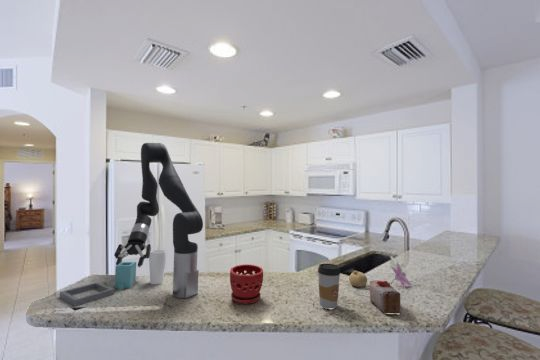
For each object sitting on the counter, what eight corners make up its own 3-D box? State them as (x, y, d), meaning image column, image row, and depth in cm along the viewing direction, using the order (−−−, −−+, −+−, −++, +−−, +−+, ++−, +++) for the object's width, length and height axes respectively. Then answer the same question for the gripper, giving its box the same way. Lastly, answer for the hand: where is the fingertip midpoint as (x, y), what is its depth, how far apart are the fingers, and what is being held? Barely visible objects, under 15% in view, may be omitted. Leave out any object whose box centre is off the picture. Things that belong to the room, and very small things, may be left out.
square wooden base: (138, 285, 116) (139, 266, 116) (131, 292, 108) (132, 272, 108) (119, 285, 115) (119, 267, 115) (110, 293, 107) (111, 273, 107)
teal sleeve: (135, 282, 115) (136, 261, 115) (128, 289, 108) (129, 266, 108) (120, 283, 114) (121, 262, 114) (113, 289, 107) (114, 267, 107)
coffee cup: (326, 313, 94) (327, 270, 95) (312, 303, 101) (313, 264, 102) (344, 308, 98) (345, 267, 98) (329, 300, 105) (330, 262, 106)
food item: (366, 299, 107) (366, 275, 107) (385, 299, 107) (385, 275, 108) (383, 316, 93) (383, 287, 93) (404, 316, 94) (405, 287, 94)
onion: (352, 281, 128) (352, 266, 128) (369, 285, 123) (369, 270, 123) (346, 286, 121) (346, 270, 121) (364, 290, 117) (364, 274, 117)
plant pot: (222, 299, 104) (223, 268, 104) (247, 290, 113) (248, 262, 114) (244, 310, 95) (245, 276, 95) (269, 299, 104) (270, 269, 105)
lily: (390, 292, 118) (401, 275, 115) (376, 274, 129) (387, 258, 126) (410, 298, 121) (422, 282, 118) (395, 280, 132) (406, 265, 129)
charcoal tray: (113, 298, 102) (114, 288, 102) (75, 310, 91) (75, 300, 91) (97, 290, 109) (97, 282, 109) (59, 301, 98) (59, 291, 98)
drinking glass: (158, 289, 112) (160, 253, 113) (144, 287, 114) (146, 252, 114) (167, 283, 119) (169, 250, 120) (154, 282, 120) (155, 249, 121)
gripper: (121, 230, 123) (108, 262, 111) (153, 230, 125) (144, 261, 113) (125, 239, 128) (113, 270, 116) (156, 239, 130) (147, 270, 118)
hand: (128, 266), depth 115 cm, fingers open, 8 cm apart
